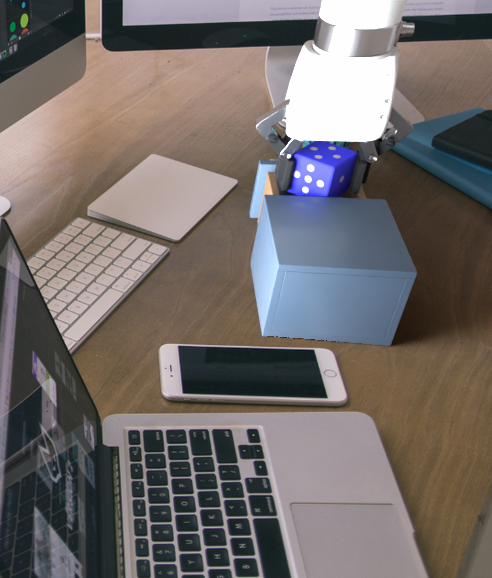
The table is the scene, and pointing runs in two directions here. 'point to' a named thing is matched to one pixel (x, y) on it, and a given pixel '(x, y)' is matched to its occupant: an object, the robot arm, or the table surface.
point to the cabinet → (330, 269)
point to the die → (322, 170)
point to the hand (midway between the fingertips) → (317, 185)
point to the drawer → (277, 187)
